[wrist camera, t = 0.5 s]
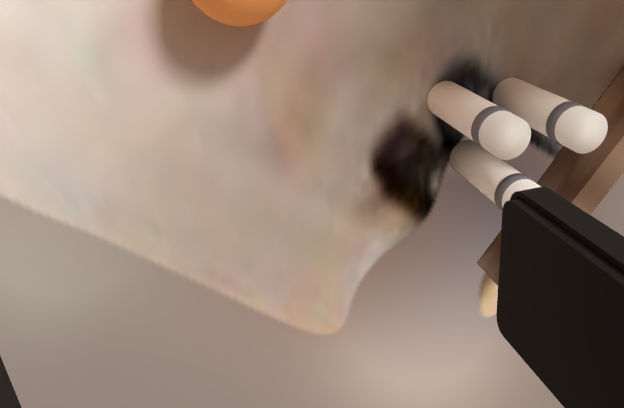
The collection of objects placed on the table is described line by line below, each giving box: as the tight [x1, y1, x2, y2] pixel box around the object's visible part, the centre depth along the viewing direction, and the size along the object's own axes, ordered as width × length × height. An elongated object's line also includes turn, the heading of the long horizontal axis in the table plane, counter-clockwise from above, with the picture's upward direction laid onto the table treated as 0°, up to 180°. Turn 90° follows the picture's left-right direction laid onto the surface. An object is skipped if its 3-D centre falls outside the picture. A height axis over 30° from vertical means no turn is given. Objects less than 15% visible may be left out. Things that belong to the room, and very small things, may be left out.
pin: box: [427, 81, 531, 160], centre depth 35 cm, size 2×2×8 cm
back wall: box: [477, 67, 624, 285], centre depth 41 cm, size 18×2×4 cm, turn 148°
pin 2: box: [492, 77, 608, 154], centre depth 36 cm, size 2×2×8 cm
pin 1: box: [450, 140, 541, 211], centre depth 37 cm, size 2×2×8 cm
